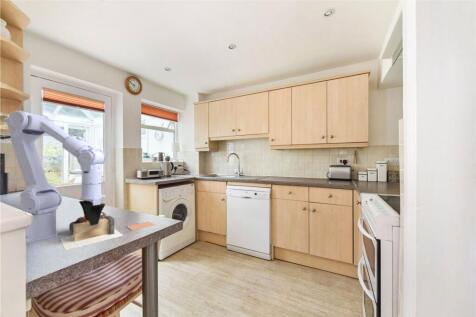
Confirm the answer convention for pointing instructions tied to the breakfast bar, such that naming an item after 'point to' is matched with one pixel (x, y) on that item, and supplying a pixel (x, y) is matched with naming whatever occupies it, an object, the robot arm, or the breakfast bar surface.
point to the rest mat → (87, 240)
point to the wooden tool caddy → (93, 229)
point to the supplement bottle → (82, 220)
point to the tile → (140, 225)
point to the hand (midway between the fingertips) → (91, 222)
